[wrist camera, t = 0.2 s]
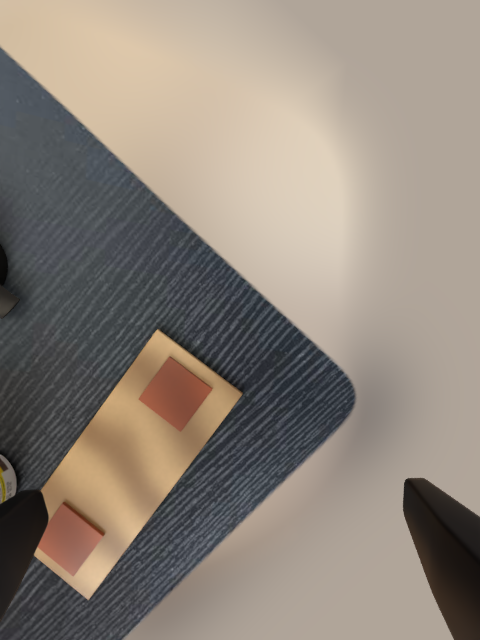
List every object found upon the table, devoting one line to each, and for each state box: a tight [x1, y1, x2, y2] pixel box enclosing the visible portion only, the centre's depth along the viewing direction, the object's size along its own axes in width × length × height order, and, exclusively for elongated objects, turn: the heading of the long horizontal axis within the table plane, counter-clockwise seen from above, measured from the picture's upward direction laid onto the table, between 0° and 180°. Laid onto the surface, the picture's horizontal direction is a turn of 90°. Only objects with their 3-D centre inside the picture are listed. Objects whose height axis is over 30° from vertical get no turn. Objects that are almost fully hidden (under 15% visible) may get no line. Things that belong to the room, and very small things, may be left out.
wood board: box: [34, 329, 243, 600], centre depth 25 cm, size 20×8×1 cm, turn 144°
